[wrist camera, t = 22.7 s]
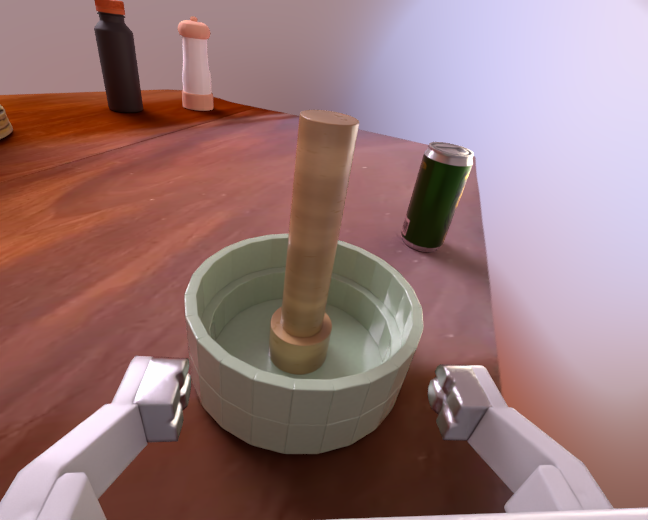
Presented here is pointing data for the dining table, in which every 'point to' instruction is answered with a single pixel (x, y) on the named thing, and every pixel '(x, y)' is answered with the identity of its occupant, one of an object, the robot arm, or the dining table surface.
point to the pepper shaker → (195, 65)
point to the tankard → (4, 124)
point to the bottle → (117, 58)
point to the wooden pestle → (312, 240)
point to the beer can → (436, 195)
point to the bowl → (289, 389)
